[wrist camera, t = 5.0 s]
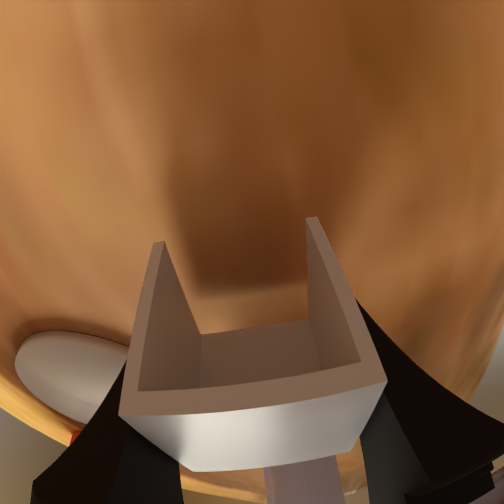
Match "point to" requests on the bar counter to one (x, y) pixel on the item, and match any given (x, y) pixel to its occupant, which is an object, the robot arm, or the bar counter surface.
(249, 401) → the grey open box
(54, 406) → the ceramic dish
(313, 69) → the bar counter surface
